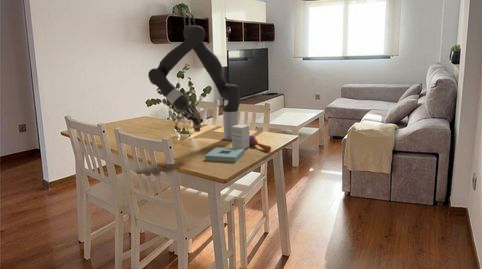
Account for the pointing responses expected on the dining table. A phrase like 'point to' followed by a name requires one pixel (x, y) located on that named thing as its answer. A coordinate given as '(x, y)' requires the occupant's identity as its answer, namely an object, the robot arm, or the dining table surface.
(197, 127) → the peg
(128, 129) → the dining table surface
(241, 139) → the supplement box
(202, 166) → the dining table surface
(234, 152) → the board
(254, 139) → the kendama
